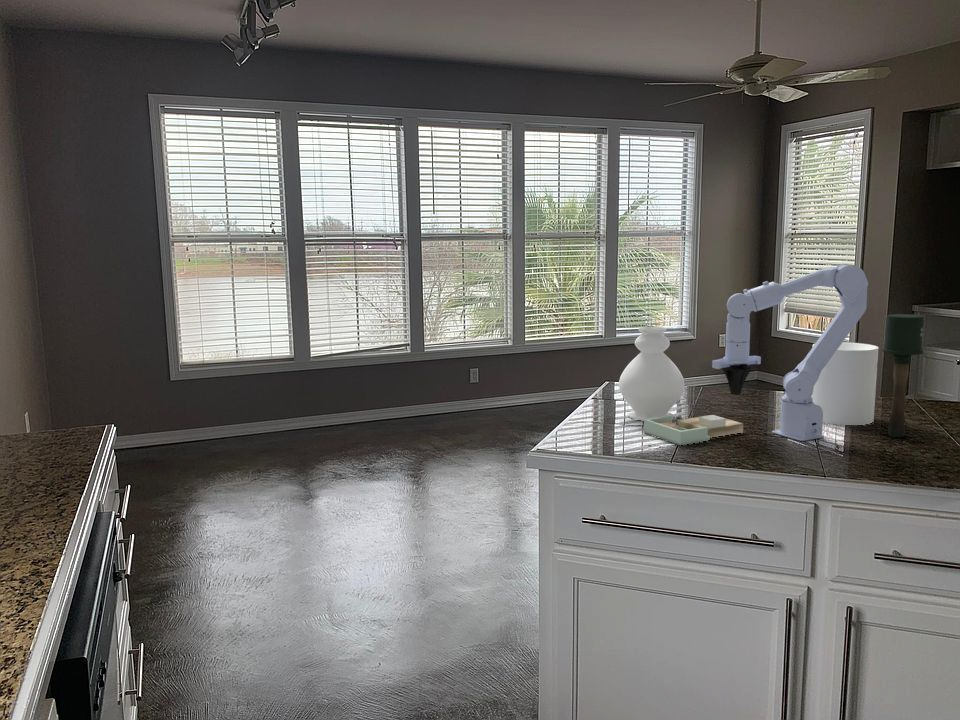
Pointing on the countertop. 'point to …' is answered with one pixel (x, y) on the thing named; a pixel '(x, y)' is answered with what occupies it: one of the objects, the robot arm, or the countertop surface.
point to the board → (728, 429)
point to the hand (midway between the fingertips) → (735, 394)
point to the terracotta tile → (669, 425)
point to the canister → (848, 385)
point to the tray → (675, 431)
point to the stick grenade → (901, 361)
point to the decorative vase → (651, 377)
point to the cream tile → (712, 421)
